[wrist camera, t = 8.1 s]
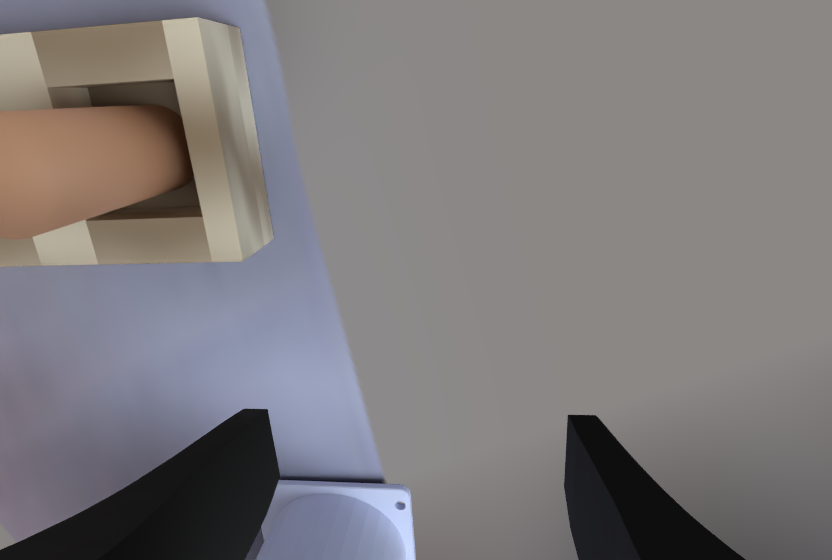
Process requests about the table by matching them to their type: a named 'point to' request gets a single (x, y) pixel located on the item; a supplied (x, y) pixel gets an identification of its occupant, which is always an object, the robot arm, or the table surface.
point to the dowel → (85, 163)
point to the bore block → (157, 85)
